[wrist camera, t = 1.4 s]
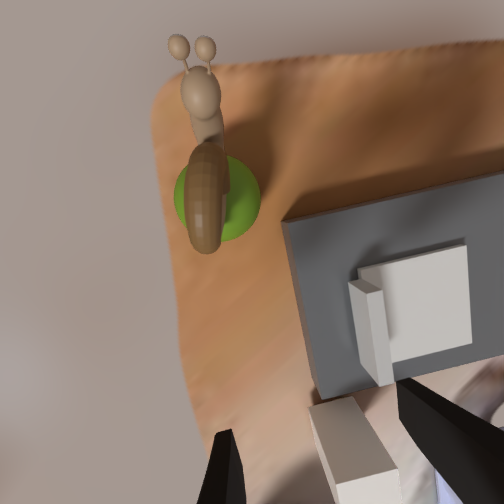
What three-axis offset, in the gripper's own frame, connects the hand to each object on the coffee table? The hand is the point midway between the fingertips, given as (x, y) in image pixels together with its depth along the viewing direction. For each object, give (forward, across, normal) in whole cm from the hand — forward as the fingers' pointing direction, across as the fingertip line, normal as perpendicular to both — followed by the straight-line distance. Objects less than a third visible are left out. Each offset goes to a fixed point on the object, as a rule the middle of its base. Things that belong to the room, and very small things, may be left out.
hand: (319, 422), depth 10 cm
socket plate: (+10, -13, 0) cm, 16 cm away
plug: (+10, -3, +11) cm, 15 cm away
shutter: (+7, -10, +1) cm, 12 cm away
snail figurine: (+11, +2, -10) cm, 15 cm away
